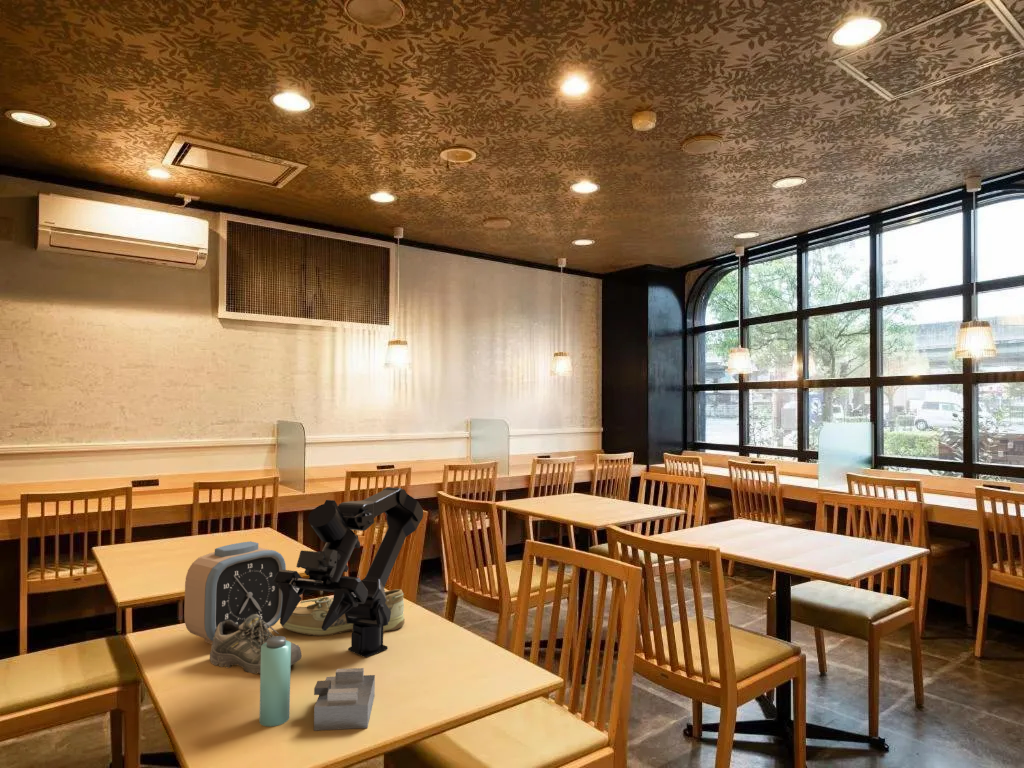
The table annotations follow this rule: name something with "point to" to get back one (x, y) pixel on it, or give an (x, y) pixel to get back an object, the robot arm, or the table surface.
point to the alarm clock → (232, 588)
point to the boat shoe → (314, 615)
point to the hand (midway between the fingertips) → (302, 627)
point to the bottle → (275, 681)
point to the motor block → (344, 700)
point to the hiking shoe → (243, 644)
